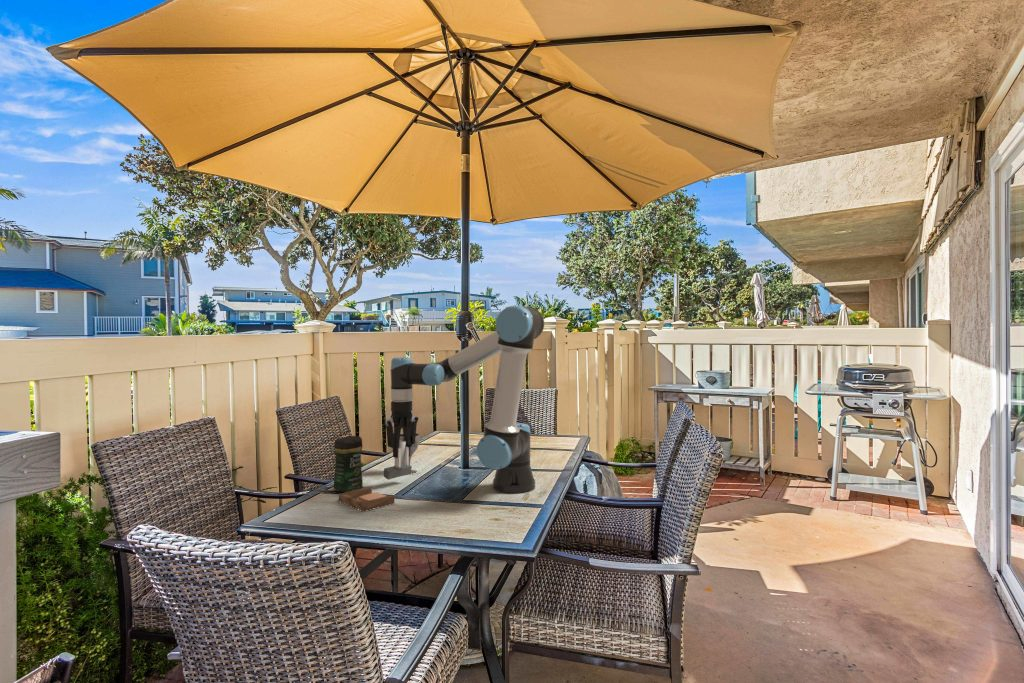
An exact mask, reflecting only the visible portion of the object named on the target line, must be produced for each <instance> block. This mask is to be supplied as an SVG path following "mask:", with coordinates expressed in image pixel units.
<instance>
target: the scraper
mask: <svg viewBox="0 0 1024 683" xmlns="http://www.w3.org/2000/svg"><path fill="white" fill-rule="evenodd" d="M405 445H406V441H403V440H400V441H399V448H400V449H401V467H397V466H395V464H394V465H393V466H388V467H386V468H384V469H383V475H382V476H383V477H384V478H385V479H387V481H388V480H392V479H396V478H400V477H404V476H409V475H408V474H411V470H412V465H411V464H410V465H404V464H403V458H404V451H405Z"/></svg>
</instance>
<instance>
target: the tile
mask: <svg viewBox="0 0 1024 683" xmlns="http://www.w3.org/2000/svg"><path fill="white" fill-rule="evenodd" d="M385 496H387V495H386V494H384V493H379V492H377V491H375V492H372V493H371V494H367V495H363V496H359V497H358V498H357V499H359V500H361V501H364V502H366V501H370V500H374V499H378V498H381V497H385Z"/></svg>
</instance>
